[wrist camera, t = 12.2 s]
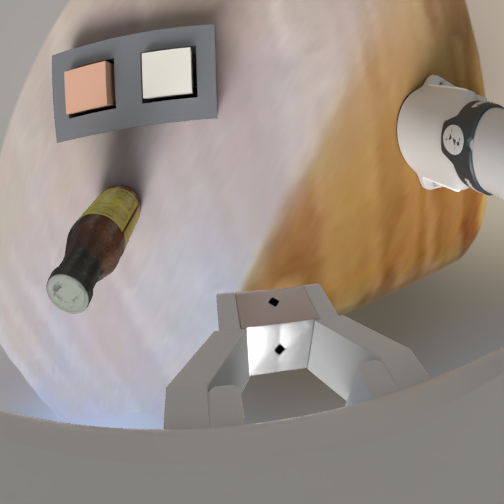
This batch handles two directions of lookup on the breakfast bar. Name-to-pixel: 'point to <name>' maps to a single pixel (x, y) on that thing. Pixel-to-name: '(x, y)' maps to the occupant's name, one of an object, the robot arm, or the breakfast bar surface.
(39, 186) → the breakfast bar surface
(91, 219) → the sauce bottle
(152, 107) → the keypad
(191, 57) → the cream key
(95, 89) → the terracotta key
